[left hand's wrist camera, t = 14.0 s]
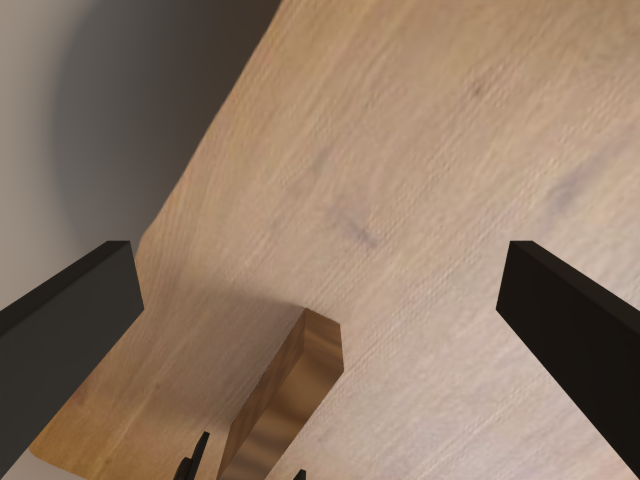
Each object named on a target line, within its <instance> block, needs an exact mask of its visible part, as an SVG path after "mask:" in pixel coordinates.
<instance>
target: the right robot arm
mask: <svg viewBox="0 0 640 480" xmlns="http://www.w3.org/2000/svg"><path fill="white" fill-rule="evenodd" d="M209 435H210V433H208V432H205V431H204V433H203V434H202V436H201V438H200V440H199V441H198V443H197V445H196V447H195V450H194V453H193V455H192V458H191V459H190V458H187V457H185V458H184V459H183V460H182V461H181V463H180V465H179V467H178V469H177V471H176V474H175V476H174V479H173V480H194V478H195V475H196V472H197V469H198V466H199V463H200V461H201V458H202V455H203V452H204V449H205V446H206V443H207V440H208V438H209ZM293 480H306V471H305V470H302V469H301V470H300V471H299V472H298V474H297V475H296V476H295V478H294V479H293Z"/></svg>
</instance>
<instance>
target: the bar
mask: <svg viewBox="0 0 640 480" xmlns="http://www.w3.org/2000/svg"><path fill="white" fill-rule="evenodd" d="M343 372H344V364H343V353H342V342H341V331H340V324H339V323H336V322H334V321H332V320H330V319H328V318H326V317H324V316H322V315H320V314H318V313H316V312H313V311H311V310H309V309H307V308H306V309H305V310H304V312H303V314H302V315H301V317H300V318H299V320H298V321H297V323H296V325H295V326H294V328H293V329H292V331H291V332H290V334H289V336H288V337H287V339H286V340H285V342H284V343H283V345H282V347H281V348H280V350H279V351H278V353H277V354H276V356H275V358H274V359H273V361H272V362H271V364H270V365H269V367H268V369H267V370H266V372H265V373H264V375H263V376H262V378H261V380H260V381H259V383H258V384H257V386H256V387H255V389H254V391H253V392H252V394H251V395H250V397H249V398H248V400H247V402H246V403H245V405H244V406H243V408H242V410H241V411H240V413H239V414H238V416H237V417H236V419H235V421H234V422H233V424H232V425H231V427H230V431H229V435H228V438H227V442H226V446H225V449H224V453H223V457H222V460H221V464H220V468H219V471H218V475H217V479H216V480H264V479H265V478H266V476H267V475H268V474H269V472H270V471H271V470H272V468H273V467H274V466H275V464H276V463H277V461H278V460H279V459H280V457H281V456H282V455H283V453H284V452H285V451H286V449H287V448H288V447H289V445H290V444H291V442H292V441H293V440H294V438H295V437H296V436H297V434H298V433H299V432H300V430H301V429H302V428H303V426H304V425H305V424H306V422H307V421H308V419H309V418H310V417H311V415H312V414H313V413H314V411H315V410H316V409H317V407H318V406H319V405H320V403H321V402H322V400H323V399H324V398H325V396H326V395H327V394H328V392H329V391H330V390H331V388H332V387H333V386H334V384H335V383H336V381H337V380H338V379H339V377H340V376H341V375H342V373H343Z"/></svg>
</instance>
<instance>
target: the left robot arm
mask: <svg viewBox="0 0 640 480" xmlns="http://www.w3.org/2000/svg"><path fill="white" fill-rule="evenodd" d="M143 310H144V305H143V301H142V296H141V291H140V286H139V282H138V277H137V272H136V268H135V263H134V258H133V253H132V249H131V244H130V241H107V242H105V243H103V244H102V245H100V246H99V247H97V248H96V249H94V250H93V251H91V252H90V253H88V254H87V255H85V256H84V257H82V258H81V259H79V260H78V261H76V262H75V263H73V264H71V265H70V266H68V267H67V268H65V269H64V270H62V271H61V272H59V273H58V274H56V275H55V276H53V277H52V278H50V279H49V280H47V281H46V282H44V283H42V284H41V285H40V286H38V287H36V288H35V289H33V290H32V291H30V292H29V293H27V294H26V295H24V296H23V297H21V298H20V299H18V300H17V301H15V302H14V303H12V304H11V305H9V306H7V307H6V308H4V309H3V310H1V311H0V480H1V478H2V477H3V476H4V475H5V474H6V473H7V471H8V470H9V469H10V468H11V467H12V465H13V464H14V463H15V462H16V461H17V460H18V458H19V457H20V456H21V455H22V454H23V452H24V451H25V450H26V449H27V448H28V447H29V445H30V444H31V443H32V442H33V441H34V439H35V438H36V437H37V436H38V435H39V433H40V432H41V431H42V430H43V429H44V428H45V426H46V425H47V424H48V423H49V422H50V420H51V419H52V418H53V417H54V416H55V415H56V413H57V412H58V411H59V410H60V409H61V407H62V406H63V405H64V404H65V403H66V402H67V400H68V399H69V398H70V397H71V396H72V394H73V393H74V392H75V391H76V390H77V389H78V387H79V386H80V385H81V384H82V383H83V381H84V380H85V379H86V378H87V377H88V376H89V374H90V373H91V372H92V371H93V370H94V368H95V367H96V366H97V365H98V364H99V362H100V361H101V360H102V359H103V358H104V357H105V355H106V354H107V353H108V352H109V351H110V349H111V348H112V347H113V346H114V345H115V344H116V342H117V341H118V340H119V339H120V338H121V336H122V335H123V334H124V333H125V332H126V331H127V329H128V328H129V327H130V326H131V325H132V323H133V322H134V321H135V320H136V319H137V318H138V316H139V315H140V314H141V313H142V312H143ZM496 310H497V312H498V313H499V314H500V315H501V316H502V318H503V319H504V320H505V321H506V322H507V323H508V325H509V326H510V327H511V328H512V329H513V331H514V332H515V333H516V334H517V335H518V336H519V338H520V339H521V340H522V341H523V342H524V344H525V345H526V346H527V347H528V348H529V349H530V351H531V352H532V353H533V354H534V355H535V357H536V358H537V359H538V360H539V361H540V362H541V364H542V365H543V366H544V367H545V368H546V370H547V371H548V372H549V373H550V374H551V376H552V377H553V378H554V379H555V380H556V381H557V383H558V384H559V385H560V386H561V387H562V389H563V390H564V391H565V392H566V393H567V394H568V396H569V397H570V398H571V399H572V400H573V402H574V403H575V404H576V405H577V406H578V407H579V409H580V410H581V411H582V412H583V413H584V415H585V416H586V417H587V418H588V419H589V420H590V422H591V423H592V424H593V425H594V426H595V428H596V429H597V430H598V431H599V432H600V433H601V435H602V436H603V437H604V438H605V439H606V441H607V442H608V443H609V444H610V445H611V447H612V448H613V449H614V450H615V451H616V452H617V454H618V455H619V456H620V457H621V458H622V460H623V461H624V462H625V463H626V464H627V465H628V467H629V468H630V469H631V470H632V471H633V473H634V474H635V475H636V476H637V477H638V478H639V480H640V311H639V310H637V309H636V308H634V307H633V306H631V305H630V304H628V303H627V302H625V301H623V300H622V299H620V298H619V297H617V296H616V295H614V294H613V293H611V292H610V291H608V290H607V289H605V288H604V287H602V286H601V285H599V284H598V283H596V282H594V281H593V280H591V279H590V278H588V277H587V276H585V275H584V274H582V273H581V272H579V271H578V270H576V269H575V268H573V267H572V266H570V265H569V264H567V263H565V262H564V261H562V260H561V259H559V258H558V257H556V256H555V255H553V254H552V253H550V252H549V251H547V250H546V249H544V248H543V247H541V246H540V245H538V244H537V243H535V242H533V241H510V244H509V249H508V253H507V258H506V263H505V268H504V272H503V277H502V282H501V286H500V291H499V296H498V301H497V305H496Z"/></svg>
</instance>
